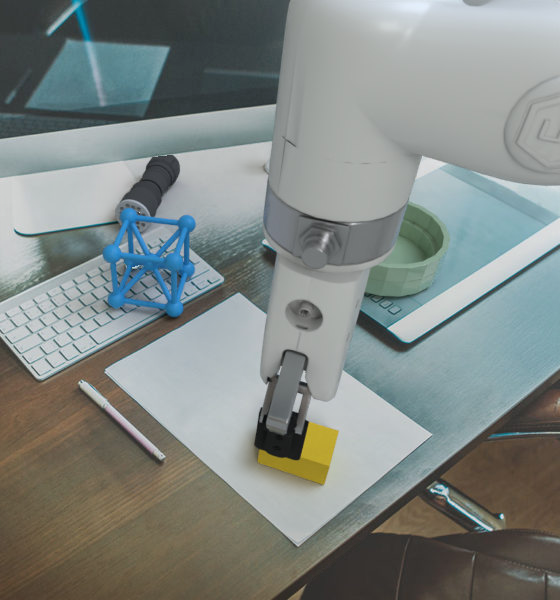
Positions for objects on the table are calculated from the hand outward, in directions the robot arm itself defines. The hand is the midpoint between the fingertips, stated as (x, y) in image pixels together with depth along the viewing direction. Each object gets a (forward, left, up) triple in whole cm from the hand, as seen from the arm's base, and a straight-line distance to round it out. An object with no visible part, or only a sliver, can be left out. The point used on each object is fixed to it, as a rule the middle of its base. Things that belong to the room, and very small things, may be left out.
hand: (293, 398), depth 48 cm
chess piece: (+16, -62, -21) cm, 67 cm away
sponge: (0, -9, -20) cm, 22 cm away
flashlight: (+32, -45, -21) cm, 59 cm away
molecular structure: (+24, -27, -21) cm, 41 cm away
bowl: (-3, -44, -20) cm, 49 cm away
